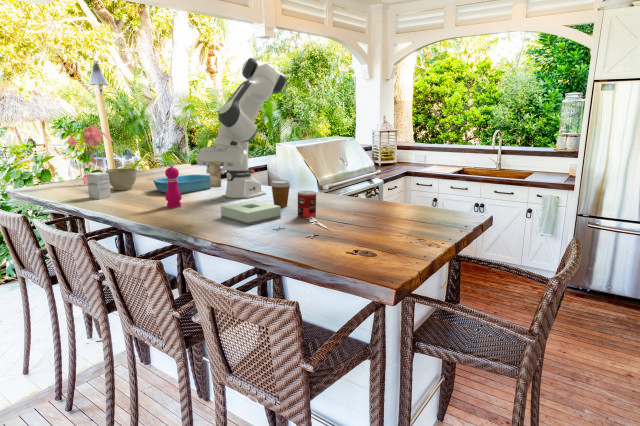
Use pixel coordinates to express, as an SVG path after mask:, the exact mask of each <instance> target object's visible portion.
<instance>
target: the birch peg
mask: <svg viewBox="0 0 640 426" xmlns="http://www.w3.org/2000/svg"><path fill="white" fill-rule="evenodd" d="M220 168H221V166H220V162H210V163H209V169H210V173H209V175H210V187H211V188H221V187H222V174H220V173H219V170H220Z"/></svg>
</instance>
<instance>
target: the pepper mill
mask: <svg viewBox="0 0 640 426" xmlns="http://www.w3.org/2000/svg"><path fill="white" fill-rule="evenodd" d="M164 175H165V177H167V181H168V190H167V192H166V193H165V197H164V198H165V200H166V201H167V203H166V206H167V208H169V209H170V208H171V209H172V208H173V209H175V208H177V209H178V208H180V207H181V206H182V203H181V200H182V193H180V191H179V189H178V186H177V181H178V178H177V177H178V176H180V172H179V170H178V168H176V167H175V166H174V164H172V163H171V164H169V167H168V168H166V170H165V172H164Z"/></svg>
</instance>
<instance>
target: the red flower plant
mask: <svg viewBox="0 0 640 426" xmlns="http://www.w3.org/2000/svg"><path fill="white" fill-rule="evenodd" d="M83 130H84V133H83V135H82V136H83V142H84V143H86V144H84V145H82V146H80V144H78V143H77V141H76V139H75V137H73V136H70V137H69V138H68V139H67V143H68V145H69V146H70V147H71V148H73V147H74V146H75V145H77V146H78V148H83V147H86V146H89V148H90V152H91V154H92V157H91V158H90V161H88V162H86V163H83V169H84V175H83V176H82V181H83V185H86V186H87V187H88V181H87V173H86V167H85V165H87V164H88V163H90V162H92V163H95V162H97V163H98V167H99V168H98V169H99V170H101V164H100V161H97V159H96V157H95V156H94V153H93V149H92V147H96V146H99V144H101V143H102V137H103V136H104V137H105V138H106V139H107V140H108V141H111V142H113V143H114V140H113V138H111V136H109V135H108V134H107V133H105V132H102V129H101V128H99V129H98V125H96V124H94V125H90V124H89V126H88V127H84V129H83ZM73 186H75V184H74V185H73Z"/></svg>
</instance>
